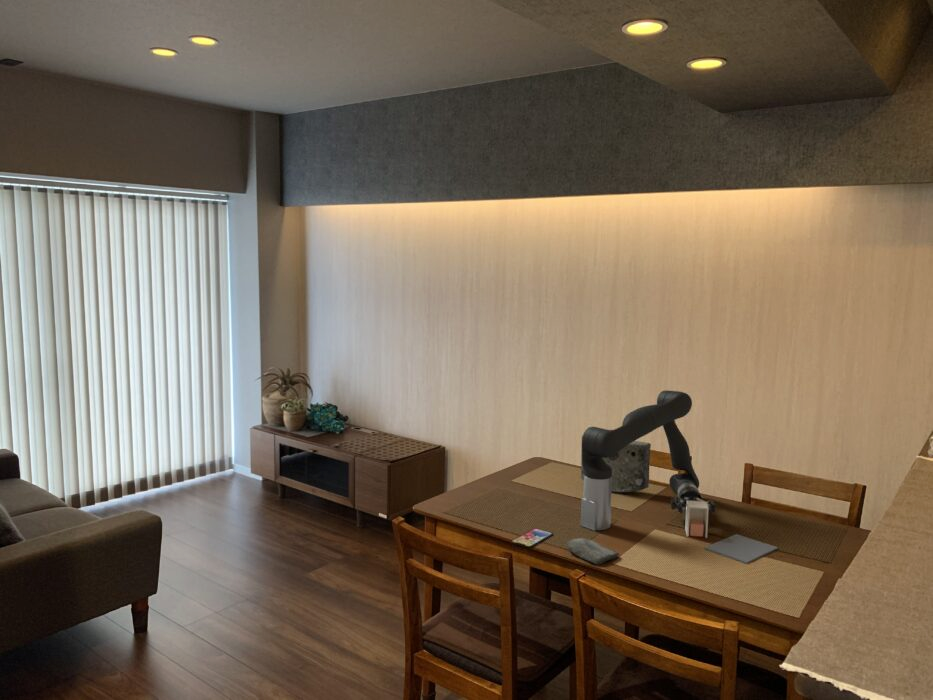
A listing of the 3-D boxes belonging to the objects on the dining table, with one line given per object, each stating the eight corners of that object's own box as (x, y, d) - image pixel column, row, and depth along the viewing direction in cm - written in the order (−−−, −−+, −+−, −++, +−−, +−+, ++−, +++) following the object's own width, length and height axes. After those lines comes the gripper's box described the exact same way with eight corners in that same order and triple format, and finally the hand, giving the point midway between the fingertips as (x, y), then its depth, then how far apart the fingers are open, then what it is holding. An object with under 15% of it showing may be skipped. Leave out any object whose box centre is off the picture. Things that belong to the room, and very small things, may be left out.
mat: (746, 563, 213) (746, 562, 213) (704, 549, 224) (704, 547, 224) (777, 548, 225) (777, 547, 225) (736, 535, 236) (736, 533, 235)
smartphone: (554, 533, 235) (530, 547, 223) (554, 535, 235) (529, 549, 223) (534, 527, 240) (509, 541, 228) (534, 530, 240) (509, 544, 228)
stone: (559, 549, 222) (596, 573, 211) (559, 538, 221) (597, 561, 210) (583, 538, 229) (620, 560, 218) (584, 527, 228) (621, 548, 217)
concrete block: (576, 485, 286) (577, 436, 284) (585, 480, 293) (587, 432, 291) (640, 498, 271) (642, 446, 269) (649, 492, 278) (651, 441, 276)
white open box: (687, 536, 234) (688, 506, 233) (685, 529, 240) (686, 500, 239) (707, 538, 233) (708, 507, 232) (704, 531, 239) (706, 501, 238)
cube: (690, 535, 235) (690, 524, 235) (688, 531, 239) (689, 519, 239) (703, 536, 234) (703, 524, 234) (701, 532, 238) (702, 520, 238)
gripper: (668, 484, 257) (673, 499, 241) (710, 487, 254) (718, 502, 238) (668, 505, 258) (672, 521, 242) (709, 508, 255) (716, 524, 239)
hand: (695, 511), depth 240 cm, fingers open, 8 cm apart
